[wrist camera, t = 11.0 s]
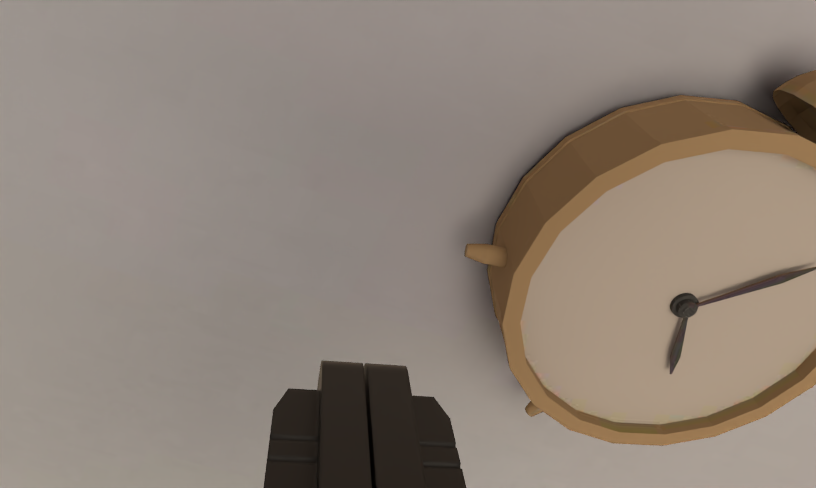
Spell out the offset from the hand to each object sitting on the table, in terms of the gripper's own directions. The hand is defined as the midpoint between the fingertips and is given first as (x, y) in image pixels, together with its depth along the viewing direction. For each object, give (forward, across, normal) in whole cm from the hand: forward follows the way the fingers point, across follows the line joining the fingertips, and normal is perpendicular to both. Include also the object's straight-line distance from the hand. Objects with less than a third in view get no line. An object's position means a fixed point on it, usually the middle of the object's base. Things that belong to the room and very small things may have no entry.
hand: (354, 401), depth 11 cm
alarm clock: (+9, -12, 0) cm, 15 cm away
